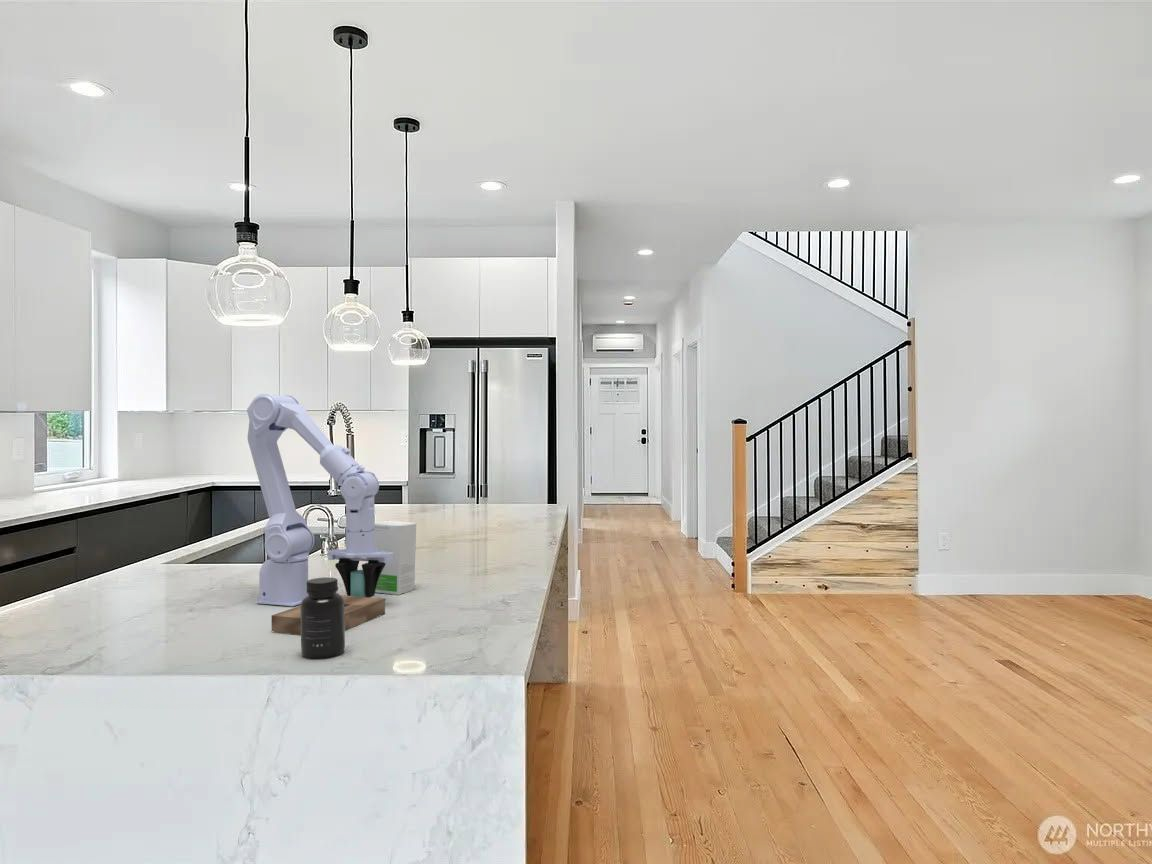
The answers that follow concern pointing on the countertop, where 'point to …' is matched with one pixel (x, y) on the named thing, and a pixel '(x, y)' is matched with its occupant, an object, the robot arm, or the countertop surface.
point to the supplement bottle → (322, 620)
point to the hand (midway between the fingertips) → (360, 595)
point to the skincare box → (396, 556)
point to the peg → (358, 583)
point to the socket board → (354, 613)
